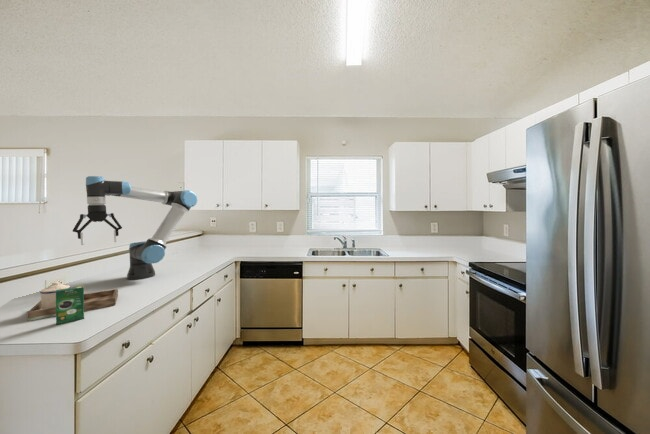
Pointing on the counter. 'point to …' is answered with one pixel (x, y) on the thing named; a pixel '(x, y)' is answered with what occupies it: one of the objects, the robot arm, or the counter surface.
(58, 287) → the teacup with lid
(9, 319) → the counter surface
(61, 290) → the coffee box
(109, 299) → the wooden tray
